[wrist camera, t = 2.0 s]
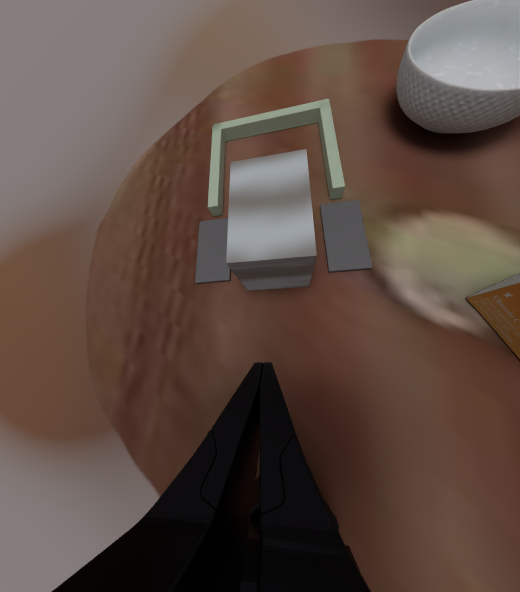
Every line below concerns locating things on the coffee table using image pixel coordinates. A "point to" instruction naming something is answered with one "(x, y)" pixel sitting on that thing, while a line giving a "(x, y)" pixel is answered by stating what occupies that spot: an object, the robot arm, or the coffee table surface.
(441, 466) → the coffee table surface
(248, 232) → the block
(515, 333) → the small box
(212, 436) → the robot arm
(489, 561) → the coffee table surface
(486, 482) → the coffee table surface
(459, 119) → the cereal bowl
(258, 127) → the green u-shaped guide frame
